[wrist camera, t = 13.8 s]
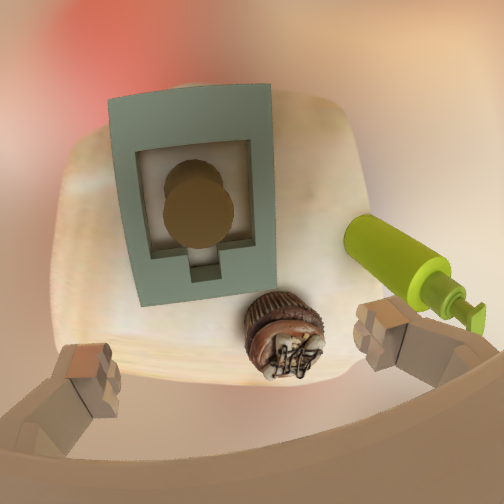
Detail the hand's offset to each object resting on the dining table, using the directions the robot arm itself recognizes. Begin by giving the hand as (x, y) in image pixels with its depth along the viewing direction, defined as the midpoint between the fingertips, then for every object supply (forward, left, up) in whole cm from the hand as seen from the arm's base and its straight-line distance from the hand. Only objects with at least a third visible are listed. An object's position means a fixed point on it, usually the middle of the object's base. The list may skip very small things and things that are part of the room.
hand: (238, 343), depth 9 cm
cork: (0, 0, -24) cm, 24 cm away
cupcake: (+17, +8, -24) cm, 31 cm away
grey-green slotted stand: (0, 0, -24) cm, 24 cm away
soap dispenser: (+8, +20, -24) cm, 32 cm away
